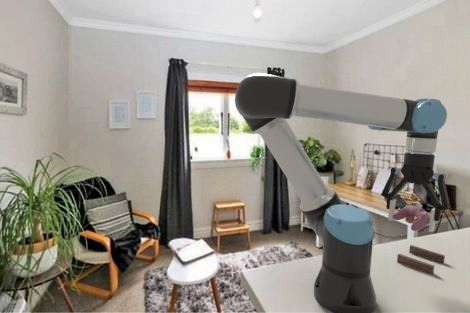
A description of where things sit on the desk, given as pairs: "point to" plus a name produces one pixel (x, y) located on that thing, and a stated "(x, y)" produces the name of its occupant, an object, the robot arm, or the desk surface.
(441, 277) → the desk surface
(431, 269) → the dock
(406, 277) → the desk surface
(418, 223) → the video game controller
